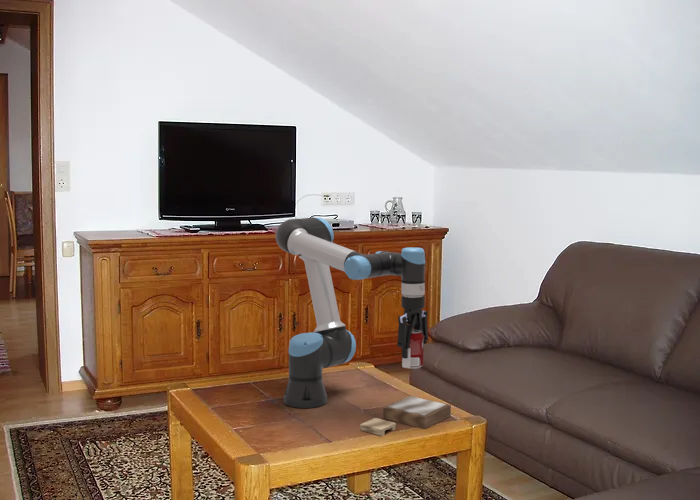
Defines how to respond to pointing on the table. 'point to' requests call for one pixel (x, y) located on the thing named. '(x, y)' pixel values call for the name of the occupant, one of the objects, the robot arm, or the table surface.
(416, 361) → the soda can
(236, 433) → the table surface
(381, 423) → the plate
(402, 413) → the dock
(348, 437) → the table surface
